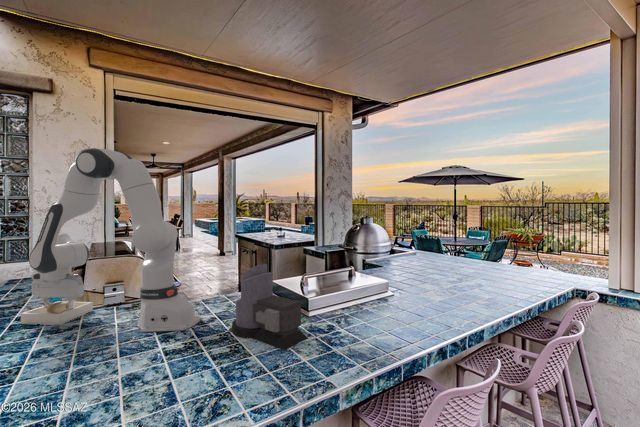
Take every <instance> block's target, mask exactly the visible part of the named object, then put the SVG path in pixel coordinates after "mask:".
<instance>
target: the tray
mask: <svg viewBox="0 0 640 427" xmlns="http://www.w3.org/2000/svg"><path fill="white" fill-rule="evenodd" d="M67 301H68V302H69V300H67ZM93 306H94V302H93V301H74V302H73V307H72V308H73V309H71V310H68V311H65V312H63V313H60V314H47V308H45V307H44V305H42V306H40V307H36V308H34V309H30V310H27V311H24V312H21V313H20V325H37V324H40V325H41V326H42V325H44V326H60V325H61V326H62V325H63V323H64V324H66V323H68V322H71V321H73V320H75V319H74V318H76V319H78V318H80V317H79V316H81V315H83V316H85V315H87V314H86V313H88V312H90V311H93V312H94V307H93ZM90 313H91V312H90ZM84 314H85V315H84ZM88 314H89V313H88ZM77 317H78V318H77ZM81 317H82V316H81ZM72 319H73V320H72ZM70 320H71V321H70ZM65 322H66V323H65Z"/></svg>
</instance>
